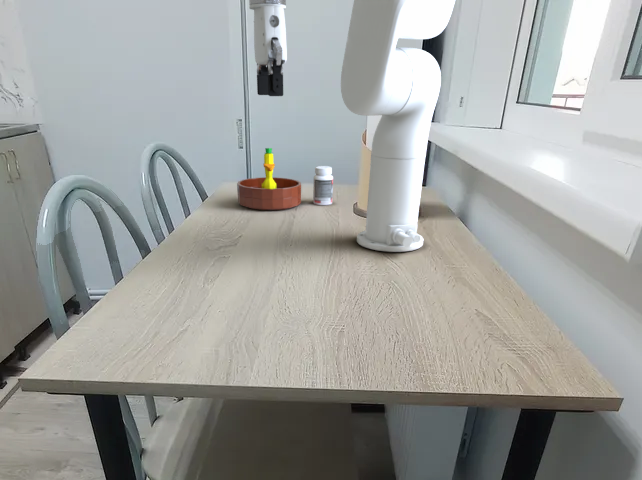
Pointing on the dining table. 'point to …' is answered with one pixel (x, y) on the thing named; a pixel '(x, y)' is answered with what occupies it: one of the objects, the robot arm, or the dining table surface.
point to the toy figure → (268, 170)
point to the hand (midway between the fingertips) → (270, 95)
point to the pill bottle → (323, 186)
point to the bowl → (269, 194)
